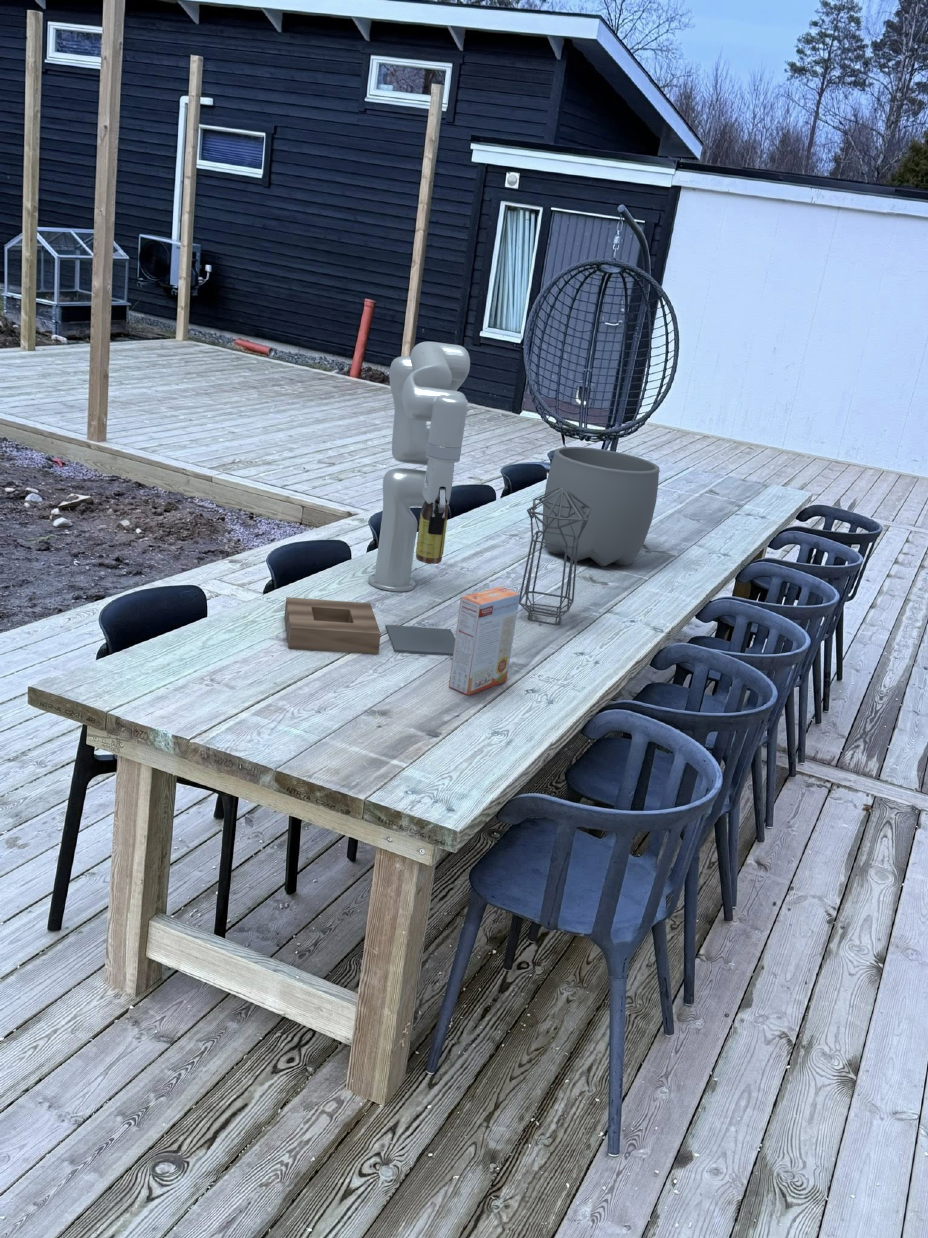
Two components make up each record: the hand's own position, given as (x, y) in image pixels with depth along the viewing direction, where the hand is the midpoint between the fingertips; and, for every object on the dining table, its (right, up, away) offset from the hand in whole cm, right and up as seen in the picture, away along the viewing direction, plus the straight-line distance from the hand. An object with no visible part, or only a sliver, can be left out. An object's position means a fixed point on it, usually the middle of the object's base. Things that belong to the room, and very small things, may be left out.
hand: (432, 528), depth 256 cm
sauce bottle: (-1, -7, +3) cm, 8 cm away
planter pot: (+47, -1, +104) cm, 114 cm away
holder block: (-24, -24, +4) cm, 34 cm away
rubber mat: (-2, -26, +9) cm, 27 cm away
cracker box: (+10, -35, -11) cm, 38 cm away
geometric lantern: (+27, -20, +39) cm, 51 cm away
